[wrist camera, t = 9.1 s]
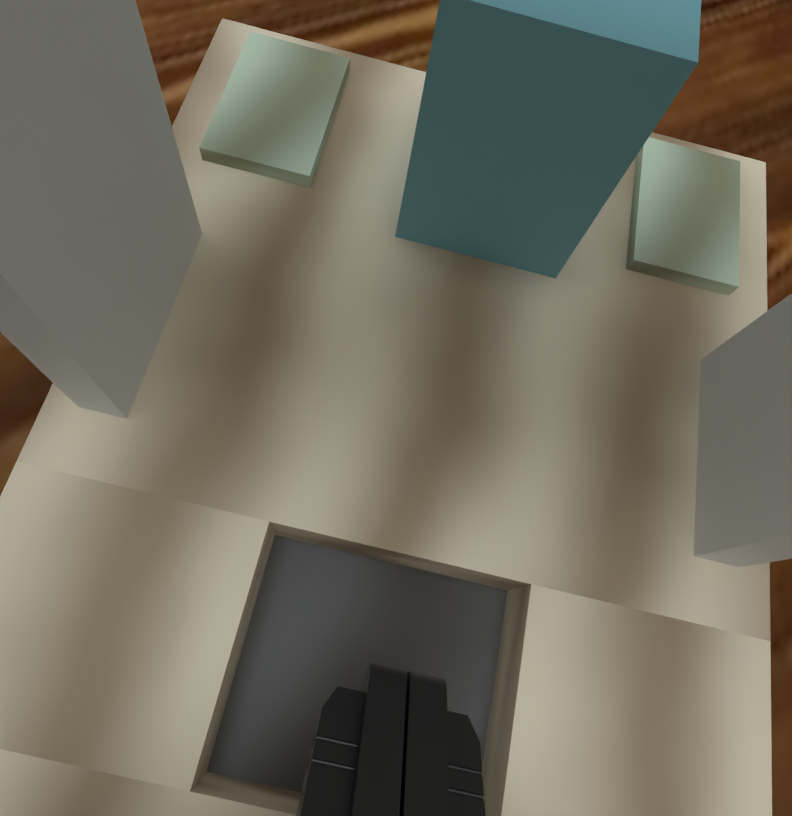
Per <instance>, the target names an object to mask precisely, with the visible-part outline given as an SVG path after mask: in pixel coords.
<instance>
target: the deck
mask: <svg viewBox="0 0 792 816" xmlns="http://www.w3.org/2000/svg"><path fill="white" fill-rule="evenodd" d="M425 77H426V72H423V71H419V70H415V69H411V68H407V67H404V66H400V65H396V64H392V63H389V62H385V61H381V60H377V59H374V58H370V57H366V56H362V55H358V54H355V53H351V52H347V51H343V50H340V49H336V48H332V47H328V46H325V45H321V44H317V43H313V42H309V41H306V40H302V39H298V38H294V37H291V36H287V35H283V34H279V33H276V32H272V31H268V30H264V29H260V28H257V27H253V26H249V25H245V24H242V23H238V22H234V21H230V20H226V19H223V18H222V20H221V22H220V25H219V27H218V29H217V31H216V33H215V35H214V37H213V40H212V42H211V44H210V46H209V48H208V50H207V53H206V55H205V57H204V59H203V61H202V63H201V65H200V68H199V70H198V72H197V74H196V76H195V78H194V81H193V83H192V85H191V87H190V89H189V91H188V93H187V96H186V98H185V100H184V102H183V104H182V106H181V109H180V111H179V113H178V115H177V117H176V119H175V121H174V124H173V126H172V130H173V133H174V137H175V140H176V144H177V147H178V151H179V154H180V158H181V161H182V165H183V168H184V172H185V175H186V178H187V182H188V185H189V189H190V192H191V196H192V199H193V203H194V206H195V210H196V213H197V217H198V220H199V224H200V227H201V231H202V235H201V238H200V240H199V243H198V245H197V248H196V250H195V253H194V255H193V258H192V260H191V262H190V265H189V267H188V270H187V272H186V275H185V277H184V280H183V282H182V285H181V287H180V290H179V292H178V295H177V297H176V299H175V302H174V304H173V307H172V309H171V312H170V314H169V317H168V319H167V322H166V324H165V327H164V329H163V331H162V334H161V336H160V339H159V341H158V344H157V346H156V349H155V351H154V354H153V356H152V359H151V361H150V364H149V366H148V368H147V371H146V373H145V376H144V378H143V381H142V383H141V386H140V388H139V391H138V393H137V396H136V398H135V400H134V403H133V405H132V408H131V410H130V413H129V415H128V418H127V419H125V418H121V417H117V416H113V415H109V414H105V413H101V412H97V411H92V410H88V409H84V408H80V407H78V406H77V405H76V404H75V403H73V402H72V401H71V400H70V399H69V398H68V397H67V396H66V395H65V394H64V393H63V392H62V391H61V390H60V389H59V388H58V387H57V386H56V385H55V384H54V383H53V384H52V386H51V388H50V391H49V393H48V395H47V397H46V399H45V401H44V403H43V406H42V408H41V410H40V412H39V414H38V416H37V419H36V421H35V423H34V425H33V427H32V429H31V431H30V434H29V436H28V438H27V440H26V442H25V444H24V447H23V449H22V451H21V453H20V455H19V457H18V459H17V462H16V464H15V466H14V468H13V470H12V472H11V475H10V477H9V479H8V481H7V483H6V485H5V487H4V490H3V492H2V494H1V496H0V816H296V815H297V810H298V805H299V800H300V796H301V791H302V786H303V781H304V776H305V772H306V767H307V762H308V758H309V754H310V750H311V747H312V743H313V739H314V735H315V732H316V728H317V724H318V720H319V717H320V713H321V709H322V707H323V705H324V704H325V703H326V701H327V700H328V698H329V697H330V696H331V694H332V693H333V692H334V690H335V689H336V688H337V686H339V687H343V688H348V689H352V690H357V691H361V688H362V685H363V681H364V678H365V675H366V671H367V668H368V665H369V663H374V664H378V665H383V666H387V667H391V668H396V669H400V670H405V671H406V672H407V673H408V671H410V672H414V673H419V674H423V675H428V676H432V677H436V678H441V679H445V680H446V684H447V711H451V712H455V713H460V714H464V715H468V717H469V719H470V721H471V723H472V726H473V728H474V730H475V732H476V734H477V736H478V739H479V741H480V747H481V761H482V777H483V788H484V796H483V801H484V802H485V816H772V758H771V655H770V562H768V563H762V564H756V565H750V566H744V567H736V566H732V565H728V564H724V563H719V562H715V561H711V560H707V559H703V558H699V557H695V556H694V534H695V506H696V478H697V450H698V421H699V393H700V365H701V359H702V358H704V357H705V356H706V355H708V354H709V353H711V352H712V351H713V350H715V349H716V348H717V347H719V346H720V345H722V344H723V343H724V342H726V341H727V340H728V339H730V338H731V337H733V336H734V335H735V334H737V333H738V332H739V331H741V330H742V329H744V328H745V327H746V326H748V325H749V324H750V323H752V322H753V321H754V320H756V319H757V318H759V317H760V316H761V315H763V314H764V313H765V312H767V241H766V162H762V161H758V160H754V159H751V158H747V157H743V156H739V155H736V154H732V153H728V152H724V151H720V150H717V149H713V148H709V147H705V146H702V145H698V144H694V143H690V142H687V141H683V140H679V139H675V138H671V137H668V136H664V135H660V134H656V133H653V132H652V133H651V135H650V136H649V138H648V139H647V141H646V142H645V144H644V145H643V147H642V148H641V150H640V151H639V153H638V154H637V156H636V157H635V159H634V160H633V162H632V163H631V165H630V166H629V168H628V169H627V171H626V173H625V174H624V176H623V177H622V179H621V180H620V182H619V183H618V185H617V186H616V188H615V189H614V191H613V192H612V194H611V195H610V197H609V198H608V200H607V201H606V203H605V204H604V206H603V207H602V209H601V210H600V212H599V213H598V215H597V217H596V218H595V220H594V221H593V223H592V224H591V226H590V227H589V229H588V230H587V232H586V233H585V235H584V236H583V238H582V239H581V241H580V242H579V244H578V245H577V247H576V248H575V250H574V251H573V253H572V254H571V256H570V258H569V259H568V261H567V262H566V264H565V265H564V267H563V268H562V270H561V271H560V273H559V274H558V276H557V277H556V278H552V277H549V276H545V275H541V274H537V273H533V272H529V271H525V270H522V269H518V268H514V267H510V266H506V265H502V264H498V263H495V262H491V261H487V260H483V259H479V258H475V257H471V256H468V255H464V254H460V253H456V252H452V251H448V250H444V249H441V248H437V247H433V246H429V245H425V244H421V243H417V242H414V241H410V240H406V239H402V238H398V237H395V234H396V229H397V224H398V219H399V213H400V208H401V203H402V198H403V192H404V187H405V182H406V177H407V171H408V166H409V161H410V156H411V150H412V145H413V140H414V135H415V129H416V124H417V119H418V113H419V108H420V103H421V98H422V92H423V87H424V82H425Z"/></svg>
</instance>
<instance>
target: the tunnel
mask: <svg viewBox="0 0 792 816" xmlns="http://www.w3.org/2000/svg"><path fill="white" fill-rule="evenodd" d="M201 235H202V231H201V227H200V224H199V220H198V217H197V213H196V210H195V206H194V203H193V199H192V196H191V192H190V189H189V185H188V182H187V178H186V175H185V172H184V168H183V165H182V161H181V158H180V154H179V151H178V147H177V144H176V140H175V137H174V133H173V130H172V126H171V123H170V119H169V116H168V112H167V109H166V105H165V102H164V98H163V95H162V91H161V88H160V84H159V81H158V78H157V74H156V71H155V67H154V64H153V60H152V57H151V53H150V50H149V46H148V43H147V39H146V36H145V32H144V29H143V25H142V22H141V18H140V15H139V11H138V8H137V4H136V1H135V0H0V332H1V333H2V334H3V335H4V336H5V337H6V338H7V339H8V340H9V341H10V342H11V343H12V344H13V345H14V346H15V347H16V348H17V349H18V350H19V351H20V352H22V353H23V354H24V355H25V356H26V357H27V358H28V359H29V360H30V361H31V362H32V363H33V364H34V365H35V366H36V367H37V368H38V369H39V370H40V371H41V372H42V373H43V374H44V375H45V376H46V377H48V378H49V379H50V380H51V381H52V382H53V383H54V384H55V385H56V386H57V387H58V388H59V389H60V390H61V391H62V392H63V393H64V394H65V395H66V396H67V397H68V398H69V399H70V400H71V401H72V402H73V403H75V404H76V405H77V406H78V407H80V408H84V409H88V410H92V411H97V412H101V413H105V414H109V415H113V416H117V417H121V418H125V419H127V418H128V415H129V413H130V410H131V408H132V405H133V403H134V400H135V398H136V396H137V393H138V391H139V388H140V386H141V383H142V381H143V378H144V376H145V373H146V371H147V368H148V366H149V364H150V361H151V359H152V356H153V354H154V351H155V349H156V346H157V344H158V341H159V339H160V336H161V334H162V331H163V329H164V327H165V324H166V322H167V319H168V317H169V314H170V312H171V309H172V307H173V304H174V302H175V299H176V297H177V295H178V292H179V290H180V287H181V285H182V282H183V280H184V277H185V275H186V272H187V270H188V267H189V265H190V262H191V260H192V258H193V255H194V253H195V250H196V248H197V245H198V243H199V240H200V238H201ZM694 556H695V557H699V558H703V559H707V560H711V561H715V562H719V563H724V564H728V565H732V566H736V567H744V566H750V565H756V564H762V563H768V562H774V561H780V560H786V559H792V294H790V295H789V296H787V297H786V298H785V299H783V300H782V301H781V302H779V303H778V304H776V305H775V306H774V307H772V308H771V309H770V310H768V311H767V312H765V313H764V314H763V315H761V316H760V317H759V318H757V319H756V320H754V321H753V322H752V323H750V324H749V325H748V326H746V327H745V328H744V329H742V330H741V331H739V332H738V333H737V334H735V335H734V336H733V337H731V338H730V339H728V340H727V341H726V342H724V343H723V344H722V345H720V346H719V347H717V348H716V349H715V350H713V351H712V352H711V353H709V354H708V355H706V356H705V357H704V358H702V359H701V365H700V393H699V421H698V450H697V478H696V506H695V534H694Z"/></svg>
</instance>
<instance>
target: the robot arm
mask: <svg viewBox="0 0 792 816" xmlns="http://www.w3.org/2000/svg"><path fill="white" fill-rule="evenodd" d="M483 796H484V788H483V777H482V761H481V747H480V741H479V739H478V736H477V734H476V732H475V730H474V728H473V726H472V723H471V721H470V719H469V717H468V715H464V714H460V713H455V712H451V711H447V684H446V680H445V679H441V678H436V677H432V676H428V675H423V674H419V673H414V672H410V671H408V673H407V672H406V671H405V670H400V669H396V668H391V667H387V666H383V665H378V664H374V663H369V665H368V668H367V671H366V675H365V678H364V681H363V685H362V688H361V691H357V690H352V689H348V688H343V687H339V686H337V688H336V689H335V690H334V692H333V693H332V694H331V696H330V697H329V698H328V700H327V701H326V703H325V704H324V705H323V707H322V709H321V713H320V717H319V720H318V724H317V728H316V732H315V735H314V739H313V743H312V747H311V750H310V754H309V758H308V762H307V767H306V772H305V776H304V781H303V786H302V791H301V796H300V800H299V805H298V810H297V815H296V816H485V802H484V801H483Z"/></svg>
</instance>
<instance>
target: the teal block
mask: <svg viewBox="0 0 792 816" xmlns="http://www.w3.org/2000/svg"><path fill="white" fill-rule="evenodd" d="M700 15H701V0H440V3H439V8H438V14H437V19H436V24H435V29H434V35H433V40H432V45H431V50H430V56H429V61H428V66H427V71H426V77H425V82H424V87H423V92H422V98H421V103H420V108H419V113H418V119H417V124H416V129H415V135H414V140H413V145H412V150H411V156H410V161H409V166H408V171H407V177H406V182H405V187H404V192H403V198H402V203H401V208H400V213H399V219H398V224H397V229H396V234H395V237H398V238H402V239H406V240H410V241H414V242H417V243H421V244H425V245H429V246H433V247H437V248H441V249H444V250H448V251H452V252H456V253H460V254H464V255H468V256H471V257H475V258H479V259H483V260H487V261H491V262H495V263H498V264H502V265H506V266H510V267H514V268H518V269H522V270H525V271H529V272H533V273H537V274H541V275H545V276H549V277H552V278H556V277H557V276H558V274H559V273H560V271H561V270H562V268H563V267H564V265H565V264H566V262H567V261H568V259H569V258H570V256H571V254H572V253H573V251H574V250H575V248H576V247H577V245H578V244H579V242H580V241H581V239H582V238H583V236H584V235H585V233H586V232H587V230H588V229H589V227H590V226H591V224H592V223H593V221H594V220H595V218H596V217H597V215H598V213H599V212H600V210H601V209H602V207H603V206H604V204H605V203H606V201H607V200H608V198H609V197H610V195H611V194H612V192H613V191H614V189H615V188H616V186H617V185H618V183H619V182H620V180H621V179H622V177H623V176H624V174H625V173H626V171H627V169H628V168H629V166H630V165H631V163H632V162H633V160H634V159H635V157H636V156H637V154H638V153H639V151H640V150H641V148H642V147H643V145H644V144H645V142H646V141H647V139H648V138H649V136H650V135H651V133H652V132H653V130H654V129H655V127H656V125H657V124H658V122H659V121H660V119H661V118H662V116H663V115H664V113H665V112H666V110H667V109H668V107H669V106H670V104H671V103H672V101H673V100H674V98H675V97H676V95H677V94H678V92H679V91H680V89H681V88H682V86H683V84H684V83H685V81H686V80H687V78H688V77H689V75H690V74H691V72H692V71H693V69H694V68H695V66H696V65H697V63H698V53H699V34H700Z"/></svg>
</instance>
